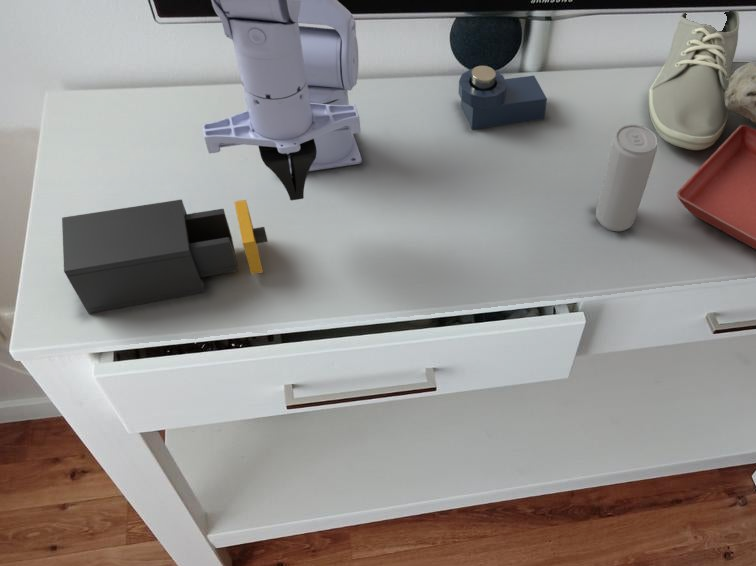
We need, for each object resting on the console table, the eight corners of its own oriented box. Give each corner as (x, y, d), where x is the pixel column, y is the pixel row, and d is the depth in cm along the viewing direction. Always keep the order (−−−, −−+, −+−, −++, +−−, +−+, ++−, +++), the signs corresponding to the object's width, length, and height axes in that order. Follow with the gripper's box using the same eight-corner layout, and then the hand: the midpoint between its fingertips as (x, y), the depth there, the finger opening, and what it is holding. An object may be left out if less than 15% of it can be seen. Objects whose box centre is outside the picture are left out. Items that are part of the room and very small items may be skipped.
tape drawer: (265, 229, 86) (257, 197, 82) (274, 270, 83) (266, 239, 79) (154, 247, 83) (141, 215, 79) (160, 290, 80) (146, 259, 76)
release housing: (465, 132, 100) (467, 99, 95) (452, 104, 103) (454, 70, 98) (545, 121, 102) (550, 88, 98) (530, 93, 105) (534, 60, 101)
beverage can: (627, 203, 95) (651, 122, 85) (639, 232, 92) (664, 151, 82) (590, 206, 94) (609, 124, 84) (600, 235, 92) (621, 154, 82)
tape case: (197, 242, 85) (181, 199, 80) (205, 292, 82) (189, 250, 76) (85, 261, 82) (61, 217, 77) (88, 314, 79) (63, 271, 73)
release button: (475, 93, 97) (475, 81, 95) (468, 79, 98) (468, 66, 97) (497, 90, 98) (498, 78, 96) (490, 76, 99) (491, 64, 98)
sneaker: (631, 150, 101) (648, 95, 94) (667, 27, 117) (684, -27, 110) (713, 173, 100) (736, 119, 93) (738, 47, 116) (759, -7, 109)
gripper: (196, 118, 67) (229, 231, 78) (363, 96, 70) (372, 208, 81) (187, 69, 70) (220, 184, 81) (346, 51, 74) (357, 164, 85)
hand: (295, 193), depth 82 cm, fingers closed
